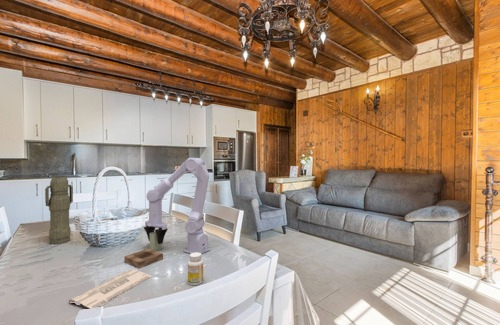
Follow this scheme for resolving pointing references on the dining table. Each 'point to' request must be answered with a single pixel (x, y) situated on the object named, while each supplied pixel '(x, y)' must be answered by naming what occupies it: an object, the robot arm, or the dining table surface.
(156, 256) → the socket block
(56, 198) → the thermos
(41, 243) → the dining table surface
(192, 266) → the supplement bottle
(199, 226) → the robot arm
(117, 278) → the newspaper
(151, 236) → the peg
